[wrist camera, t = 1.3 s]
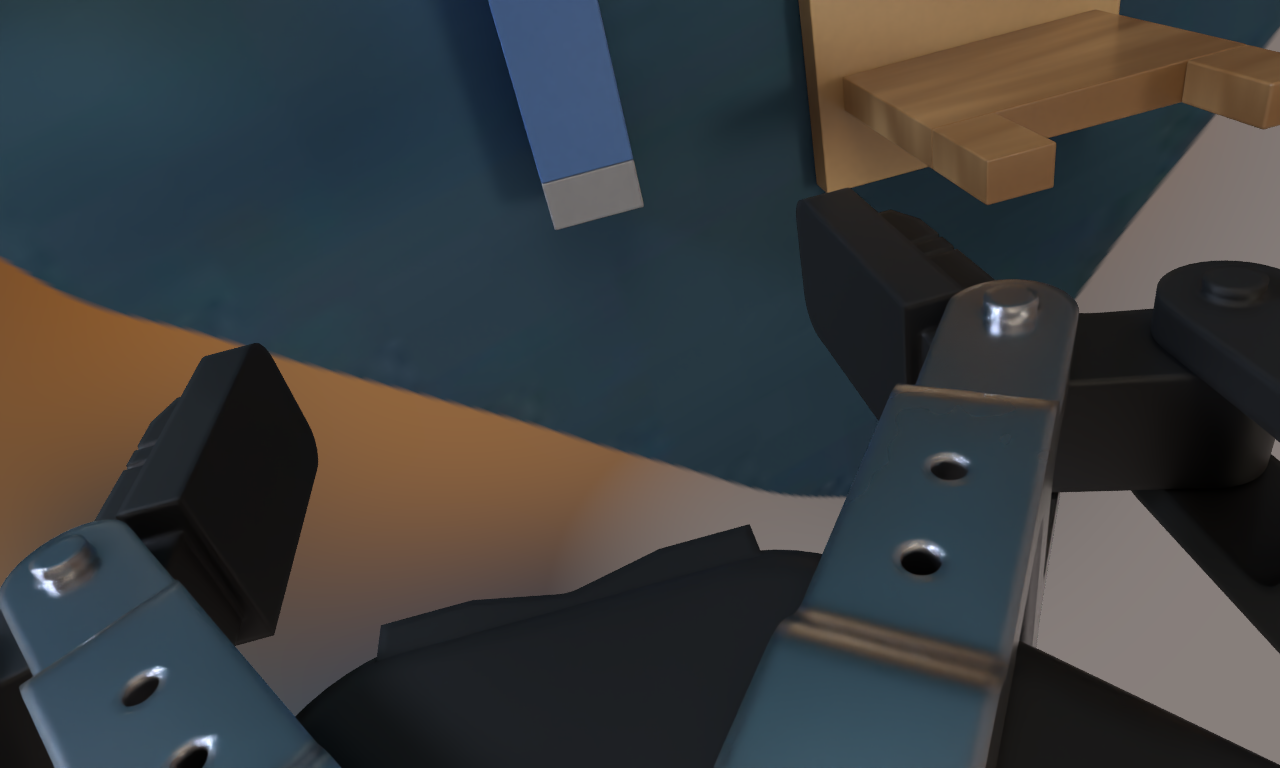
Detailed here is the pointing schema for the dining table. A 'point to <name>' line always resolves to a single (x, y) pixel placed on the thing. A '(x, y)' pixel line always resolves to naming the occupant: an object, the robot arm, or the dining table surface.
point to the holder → (1002, 85)
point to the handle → (569, 106)
